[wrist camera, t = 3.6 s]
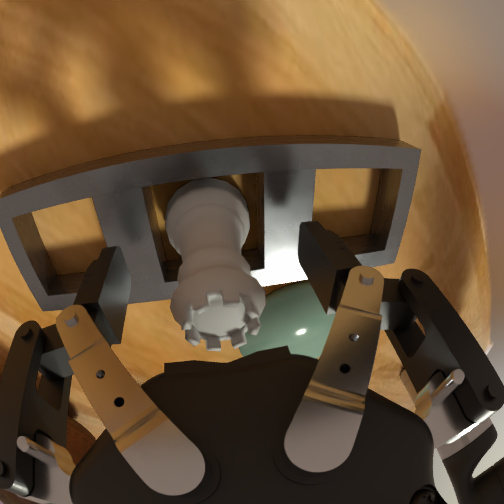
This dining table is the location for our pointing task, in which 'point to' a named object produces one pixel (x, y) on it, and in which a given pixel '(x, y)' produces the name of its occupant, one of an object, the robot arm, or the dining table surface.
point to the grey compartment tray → (202, 166)
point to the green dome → (291, 322)
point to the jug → (76, 445)
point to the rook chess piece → (213, 264)
